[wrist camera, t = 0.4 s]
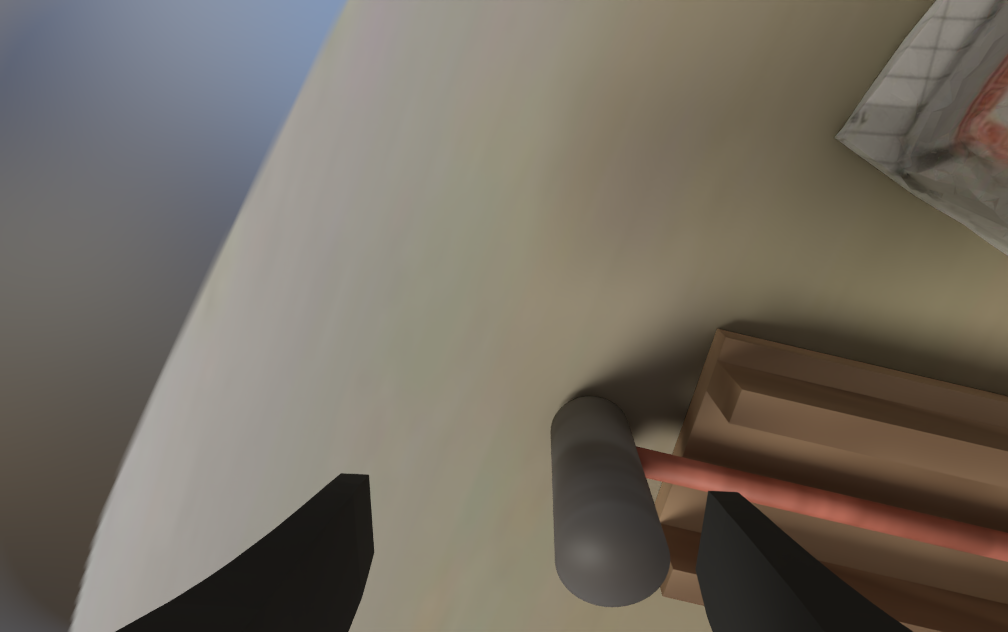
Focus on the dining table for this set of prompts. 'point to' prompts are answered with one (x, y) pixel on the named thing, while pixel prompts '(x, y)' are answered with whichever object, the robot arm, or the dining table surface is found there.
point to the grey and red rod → (630, 507)
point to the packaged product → (945, 115)
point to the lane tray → (853, 473)
